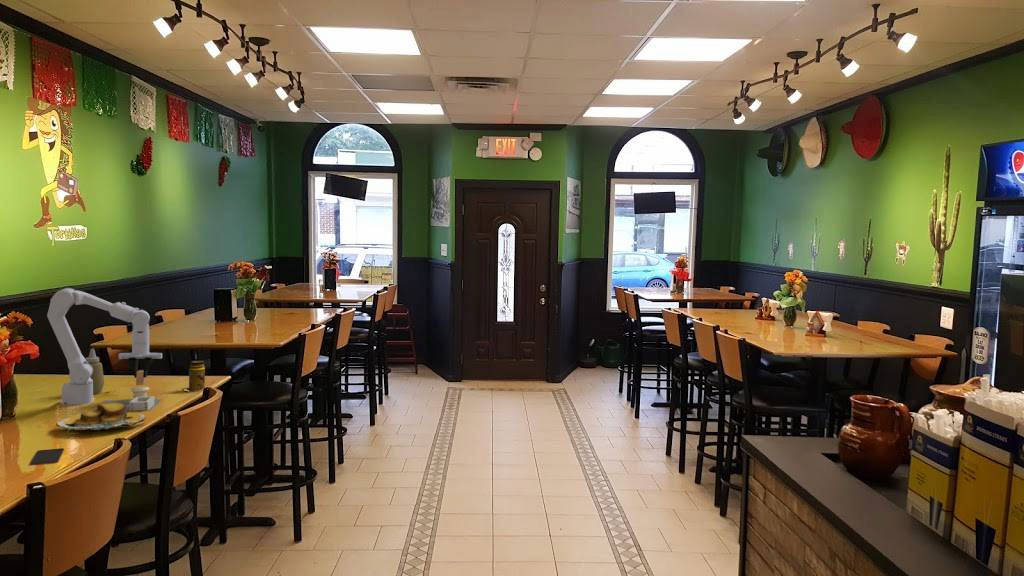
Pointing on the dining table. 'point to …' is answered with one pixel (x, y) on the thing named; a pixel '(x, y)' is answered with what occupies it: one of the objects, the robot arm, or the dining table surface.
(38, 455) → the smartphone
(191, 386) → the condiment
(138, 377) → the tan small block
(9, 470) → the dining table surface
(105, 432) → the dining table surface
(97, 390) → the squeeze bottle
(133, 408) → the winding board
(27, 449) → the dining table surface
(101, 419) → the food on plate
